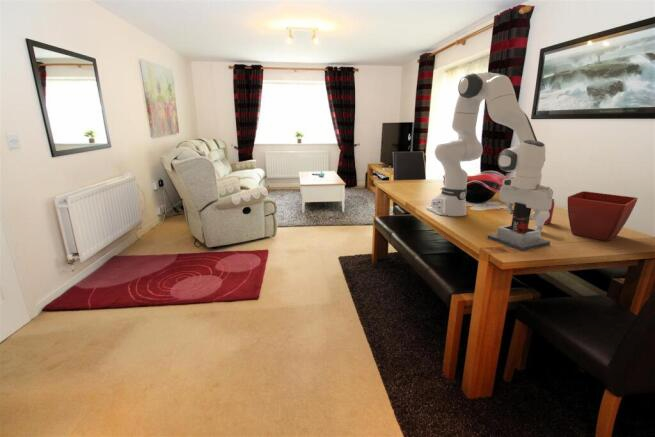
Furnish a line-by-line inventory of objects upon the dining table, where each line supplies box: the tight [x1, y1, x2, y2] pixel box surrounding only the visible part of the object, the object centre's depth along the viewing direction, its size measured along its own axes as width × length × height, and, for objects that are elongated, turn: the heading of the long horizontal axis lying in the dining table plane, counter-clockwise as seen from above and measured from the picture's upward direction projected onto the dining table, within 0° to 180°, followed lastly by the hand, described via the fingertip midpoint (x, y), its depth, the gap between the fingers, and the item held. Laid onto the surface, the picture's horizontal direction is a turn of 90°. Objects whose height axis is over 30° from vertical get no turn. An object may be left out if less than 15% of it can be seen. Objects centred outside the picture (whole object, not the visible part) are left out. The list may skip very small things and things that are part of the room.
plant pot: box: [567, 190, 639, 242], centre depth 136 cm, size 19×19×17 cm
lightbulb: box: [532, 211, 550, 232], centre depth 142 cm, size 6×6×11 cm
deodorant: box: [510, 202, 532, 233], centre depth 130 cm, size 6×6×15 cm
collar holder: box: [486, 224, 551, 252], centre depth 131 cm, size 16×16×6 cm
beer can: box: [544, 198, 555, 225], centre depth 155 cm, size 7×7×12 cm
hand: (521, 216), depth 129 cm, fingers open, 8 cm apart
